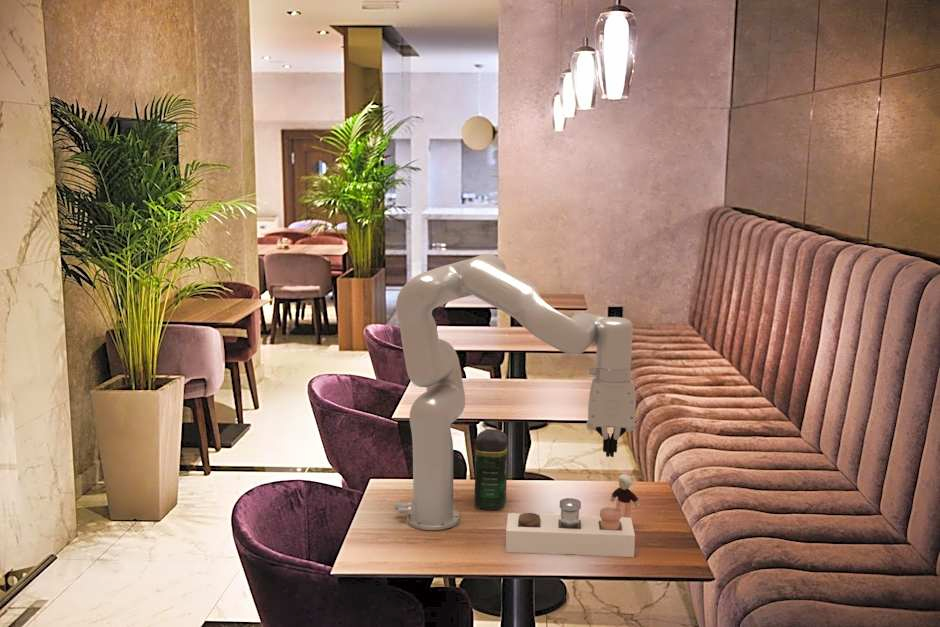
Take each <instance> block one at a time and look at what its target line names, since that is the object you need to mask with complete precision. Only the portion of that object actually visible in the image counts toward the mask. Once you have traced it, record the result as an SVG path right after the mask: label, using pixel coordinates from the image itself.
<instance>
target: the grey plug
mask: <svg viewBox="0 0 940 627" xmlns="http://www.w3.org/2000/svg"><path fill="white" fill-rule="evenodd" d="M581 507H582V501H581V500H579V499H576V498H573V497H572V498H571V497H570V498H569V497H568V498H566V497H565V498H562V499H559V509H560V515H561V528H566V529H579V516H580V510H581Z"/></svg>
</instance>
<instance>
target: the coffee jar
mask: <svg viewBox="0 0 940 627" xmlns="http://www.w3.org/2000/svg"><path fill="white" fill-rule="evenodd" d="M474 442H475V443H474V444H475V447H474V450H475V452H474V461H475V462H474V506H476V508H480V509H484V510H490V511H492V510H497V509H498V510H499V509H502V508H503V507H504V506H505V504H506V502H507V477H508V435H507V434H506V433H505V432H504V431H502V430H501V429H494V428H493V429H492V428H485V429H484V430H482V431H480V432H479V433H478V434H477V436H476V438H475V440H474Z"/></svg>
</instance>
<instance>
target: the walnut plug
mask: <svg viewBox="0 0 940 627" xmlns="http://www.w3.org/2000/svg"><path fill="white" fill-rule="evenodd" d="M520 514H521V515H519V523H520V527H538V524H539V523H540V516H539V515H537V513H535V512H534V513H533V512H524V513H520Z"/></svg>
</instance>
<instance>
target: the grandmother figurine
mask: <svg viewBox="0 0 940 627" xmlns="http://www.w3.org/2000/svg"><path fill="white" fill-rule="evenodd" d="M633 484H634V482H633V480H632V478H631V477H630V476H629V475H628V474H623V473H622V474H620V475H619V476H618V486H619V487H617V488H616V489H615V490H614V491H613V492H612V494H611V497H610V498H609V501H610V503H613V502H615V500H616V498H617V500H616V507H615V508H616V509H619V510H620V511H621V517H625V518H632V508H631V507H632V505H631V502H632V503H634V505H635V508H636V509H639V508H641V505H640V502H639V498H638V497H637V495H636V494H635V493H634V492H633V491H631V490H630V489H629V488H630V487H631V486H632V485H633Z"/></svg>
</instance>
